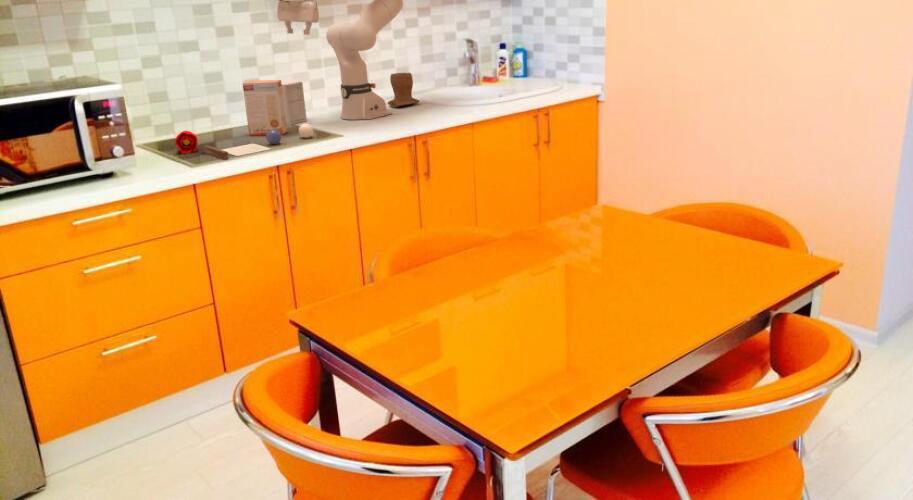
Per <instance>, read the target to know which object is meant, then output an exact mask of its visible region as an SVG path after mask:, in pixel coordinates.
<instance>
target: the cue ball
mask: <svg viewBox="0 0 913 500" xmlns="http://www.w3.org/2000/svg"><path fill="white" fill-rule="evenodd" d="M298 133H299V135H300V136H301V137H302V138H304V139H308V138H311V136H313V134H314V128H313V126H312V125H311V124H310V123H303V124H301V125H300V126H299V128H298Z"/></svg>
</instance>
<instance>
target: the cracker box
mask: <svg viewBox="0 0 913 500" xmlns="http://www.w3.org/2000/svg"><path fill="white" fill-rule="evenodd" d="M281 81H282V79H267V80H265V79H263V80H247V81H246V80H245V82H242V91H243V97H244V105H245V112H246V113H245V114H246V122H247V127H248V134H249V136H266V135H267V133H268V131H270V130H277V131H279V132H280V134H281V136H283V135H284V134H286V133H287V132H288V127H287V124H286V117H285V109H284V100H283V92H282V84H281Z"/></svg>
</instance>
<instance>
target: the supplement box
mask: <svg viewBox="0 0 913 500" xmlns="http://www.w3.org/2000/svg"><path fill="white" fill-rule="evenodd" d="M281 84H282V92H283V100H284V109H285V117H286V126H287V125H288V126H290V125H294V124H295V125H296V124H299V123H305V122H307V112H306V110H307V109H306V103H305V94H304V86H303V84H304V83H303V81H300V80H294V79H289V80H281Z"/></svg>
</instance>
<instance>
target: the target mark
mask: <svg viewBox="0 0 913 500" xmlns="http://www.w3.org/2000/svg"><path fill="white" fill-rule="evenodd" d="M221 150H223V151H226V152H228V155H231V156H234V157H241V156H247V155H250V154H256V153H261V152H266V151H270V150H272V148H271V147H267V146H264V145H260V144H257V143H249V144H244V145H239V146H233V147H227V148H224V149H223V148H222V149H221Z"/></svg>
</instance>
